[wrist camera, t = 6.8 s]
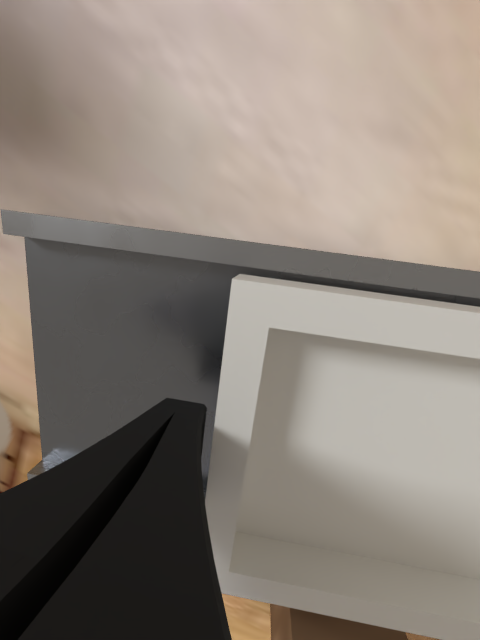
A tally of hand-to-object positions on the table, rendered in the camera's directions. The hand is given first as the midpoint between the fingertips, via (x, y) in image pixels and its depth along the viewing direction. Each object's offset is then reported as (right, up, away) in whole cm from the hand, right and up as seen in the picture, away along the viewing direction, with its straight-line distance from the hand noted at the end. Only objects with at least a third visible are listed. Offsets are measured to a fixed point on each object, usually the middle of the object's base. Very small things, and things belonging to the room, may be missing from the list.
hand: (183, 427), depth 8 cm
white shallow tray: (+7, 0, +3) cm, 8 cm away
